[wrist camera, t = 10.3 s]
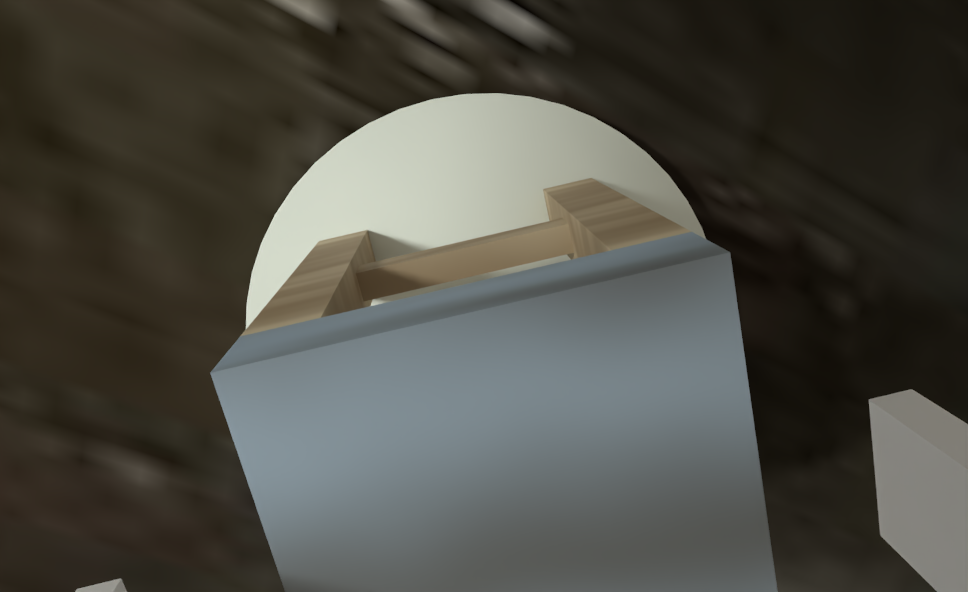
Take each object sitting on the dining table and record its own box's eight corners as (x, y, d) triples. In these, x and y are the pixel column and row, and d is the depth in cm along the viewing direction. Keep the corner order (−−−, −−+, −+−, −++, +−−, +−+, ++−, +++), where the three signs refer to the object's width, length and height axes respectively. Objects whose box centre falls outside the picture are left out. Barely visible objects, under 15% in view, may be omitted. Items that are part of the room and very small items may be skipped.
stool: (318, 240, 24) (210, 373, 13) (591, 177, 24) (730, 252, 13) (389, 485, 27) (351, 784, 15) (637, 428, 27) (790, 682, 15)
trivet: (324, 577, 28) (321, 591, 28) (188, 155, 24) (179, 158, 23) (740, 481, 28) (748, 491, 28) (675, 42, 24) (683, 40, 23)
